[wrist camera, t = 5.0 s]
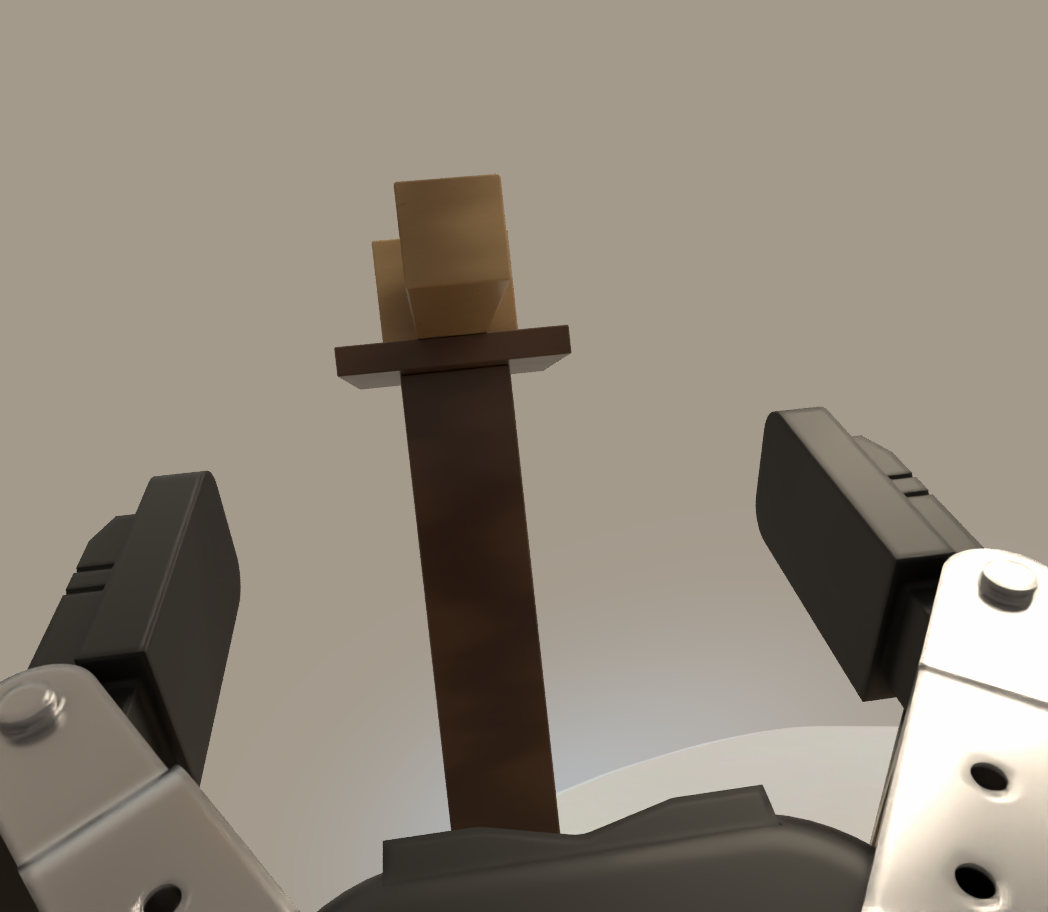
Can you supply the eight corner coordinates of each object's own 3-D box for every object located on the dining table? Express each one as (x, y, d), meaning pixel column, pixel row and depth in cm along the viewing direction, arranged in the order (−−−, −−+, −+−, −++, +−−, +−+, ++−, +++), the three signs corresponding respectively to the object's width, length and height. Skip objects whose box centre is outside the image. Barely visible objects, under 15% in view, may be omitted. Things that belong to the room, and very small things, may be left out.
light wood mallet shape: (346, 294, 19) (325, 113, 19) (392, 362, 37) (381, 269, 37) (568, 273, 20) (550, 96, 19) (507, 351, 38) (497, 259, 37)
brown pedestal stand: (409, 1298, 29) (299, 347, 28) (417, 1077, 39) (336, 370, 38) (698, 1240, 30) (602, 317, 29) (634, 1039, 40) (560, 347, 39)
